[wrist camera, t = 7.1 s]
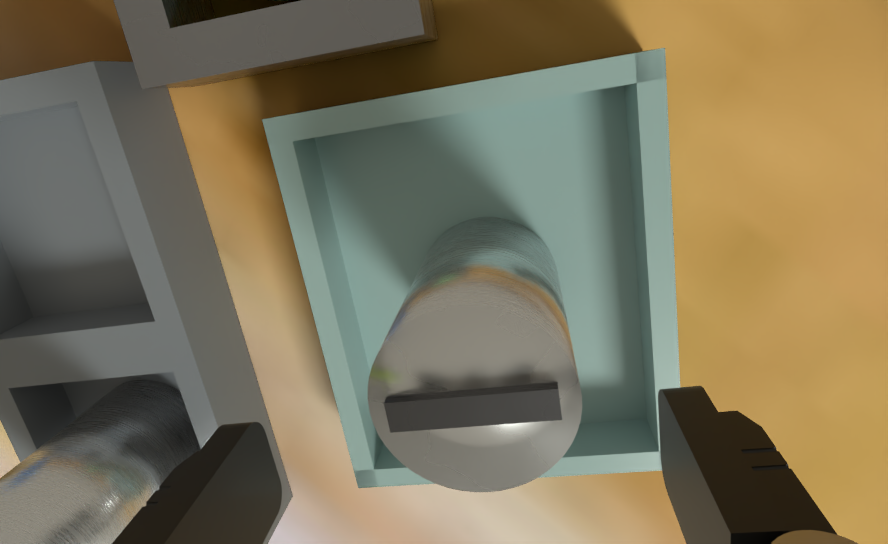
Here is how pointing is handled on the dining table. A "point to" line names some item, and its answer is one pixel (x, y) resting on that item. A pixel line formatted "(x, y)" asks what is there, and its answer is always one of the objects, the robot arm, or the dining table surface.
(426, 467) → the cylinder
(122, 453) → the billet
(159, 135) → the tray
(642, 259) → the tray
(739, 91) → the dining table surface
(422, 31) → the grey button housing
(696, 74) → the dining table surface
